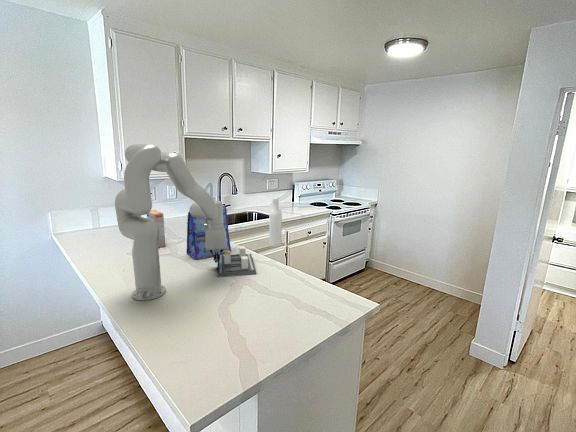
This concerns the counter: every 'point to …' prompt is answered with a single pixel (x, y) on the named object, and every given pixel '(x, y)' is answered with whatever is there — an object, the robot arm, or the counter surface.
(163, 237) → the cracker box
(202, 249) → the lunch bag
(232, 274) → the panel
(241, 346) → the counter surface
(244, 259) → the block
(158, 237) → the robot arm
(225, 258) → the block
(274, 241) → the bottle
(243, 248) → the block
